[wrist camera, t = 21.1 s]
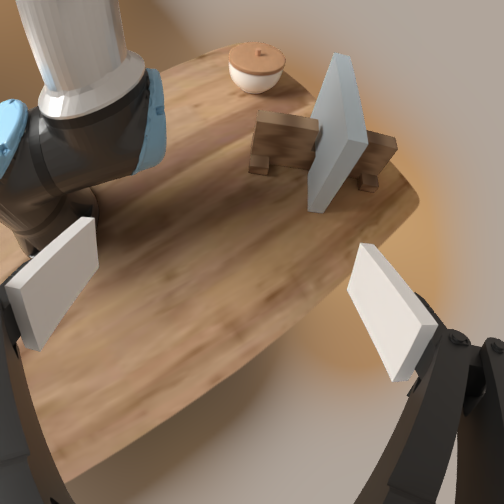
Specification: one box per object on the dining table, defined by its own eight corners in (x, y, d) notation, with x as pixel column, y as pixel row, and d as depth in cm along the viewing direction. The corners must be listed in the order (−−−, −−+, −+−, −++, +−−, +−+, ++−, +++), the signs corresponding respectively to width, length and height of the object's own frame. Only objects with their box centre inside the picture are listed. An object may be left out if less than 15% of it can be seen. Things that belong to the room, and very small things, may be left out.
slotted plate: (322, 213, 49) (368, 144, 32) (307, 211, 49) (348, 139, 32) (319, 129, 55) (350, 56, 38) (306, 127, 55) (334, 52, 38)
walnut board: (248, 172, 50) (255, 132, 41) (252, 140, 53) (258, 99, 43) (373, 192, 52) (400, 161, 42) (369, 160, 54) (392, 127, 45)
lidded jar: (216, 88, 57) (217, 51, 48) (244, 64, 60) (248, 30, 51) (263, 108, 56) (270, 72, 47) (288, 82, 59) (296, 48, 50)
